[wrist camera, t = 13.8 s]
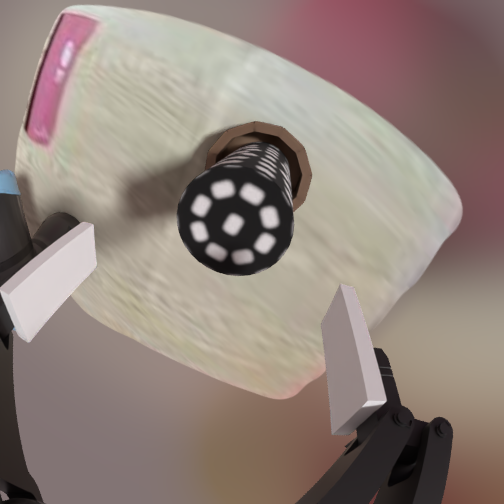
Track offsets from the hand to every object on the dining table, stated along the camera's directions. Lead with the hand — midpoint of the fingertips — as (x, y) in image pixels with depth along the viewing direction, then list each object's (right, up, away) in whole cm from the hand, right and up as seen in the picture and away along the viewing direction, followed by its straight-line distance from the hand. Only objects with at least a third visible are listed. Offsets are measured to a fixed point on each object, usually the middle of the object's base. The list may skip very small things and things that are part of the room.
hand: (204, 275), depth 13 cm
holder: (+3, +13, +24) cm, 27 cm away
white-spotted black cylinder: (+3, +12, +23) cm, 27 cm away
